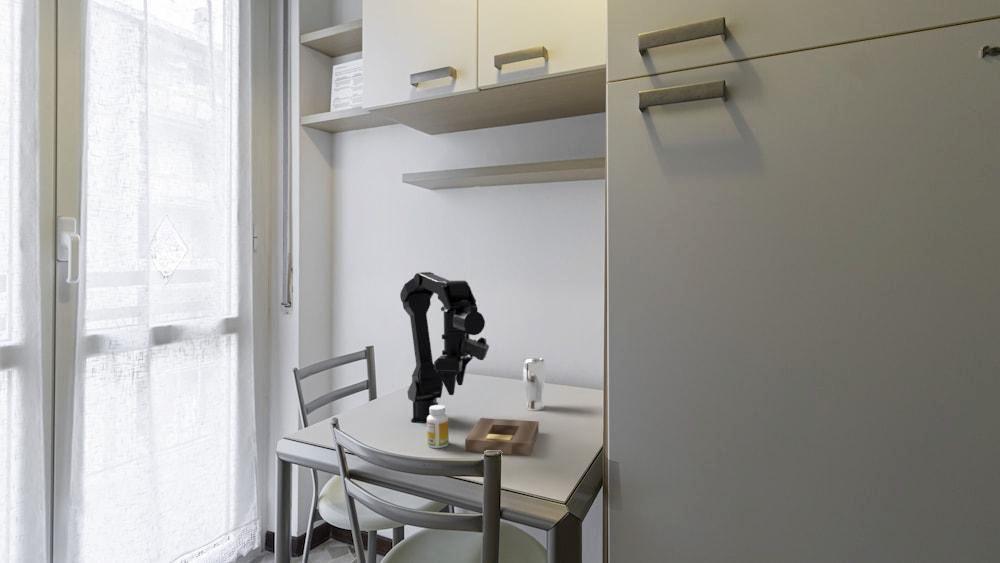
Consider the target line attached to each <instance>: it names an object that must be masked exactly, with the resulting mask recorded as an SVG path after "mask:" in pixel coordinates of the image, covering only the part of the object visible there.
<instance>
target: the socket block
mask: <svg viewBox="0 0 1000 563" xmlns="http://www.w3.org/2000/svg"><path fill="white" fill-rule="evenodd" d="M539 422H540V421H539V420H525V419H524V420H523V419H522V420H521V419H520V420H519V419H505V418H504V419H502V418H487V417H486V418H485V417H480V419H478V421H477V423H476V424H475V425H474V427H472V429H471V431H470V432H469V433H468V435H467V436H466V438H465V441H464V448H465V449H464V450H465V452H468V451H471V452H470V453H481V454H483V452H484V451H486V450H501V451H502V452H503V454H502V455H513V456H525V457H530V456H531V455H532V453H533V452H532V451H533V449H534V446H535V443H536V442H537V438H538V435H539V429H540V427H539V425H540V424H539Z"/></svg>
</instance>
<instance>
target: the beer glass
mask: <svg viewBox="0 0 1000 563" xmlns="http://www.w3.org/2000/svg"><path fill="white" fill-rule="evenodd" d="M522 362H523V365H522V380H523V381H522V382H523V387H524V392H525V393H524V394H525V403H524V409H525V410H527V411H530V412H531V411H532V412H533V411H535V412H537V411H542V410H544V408H545V406H544V400H543V399H544V397H543V396H544V395H543V393H544V389H545V382H546V365H545V364H546V363H545V359H543V358H537V357H530V358H524V359H523V361H522Z"/></svg>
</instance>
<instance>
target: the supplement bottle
mask: <svg viewBox="0 0 1000 563" xmlns="http://www.w3.org/2000/svg"><path fill="white" fill-rule="evenodd" d="M429 412H430V415H429V416H428V417H427V423H426V440H427V442H426V443H427V446H428V447H429V448H431V449H441V448H445V447H447V446H448V445H449V443H450V441H449V437H450V436H449V417H448V416H449V415H447V414H446V406H445V405H444V404H438V405H433V406H431V407H430V408H429Z"/></svg>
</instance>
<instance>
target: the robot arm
mask: <svg viewBox="0 0 1000 563" xmlns="http://www.w3.org/2000/svg"><path fill="white" fill-rule="evenodd" d="M434 294H436V295H437V299H438V301H439V302H441V304H442V306H441V307H440V311H442V312H443V334H441V340H443V350H441V354H442V355H440V356H439V357H438V358H437V359H435V361H434V362H433V355H432V346H431V339H430V332H429V325H428V324H429V322H428V316H427V313H428V311H429V309H430V306H431V299H432V297H433V295H434ZM399 296H400V300H401V302H402V307H403V308H402V309H403V310H404V311H405V312H406V313H407V315H408V316H409V320H410V326H411V333H412V341H413V342H412V343H413V349H414V350H413V351H414V358H415V359H414V360H415V368H414V370H413V373H412V375H411V383H410V386H409V387H408V390H407V398H408V400H409V401H412V418H411V419H410V422H412V423H426V424H427V417H428V416H429V415H430V412H429V408H430V407H431V406H433V405H439V402H437V401H438V400H437V399H441V398H442V393H443V389H444V388H443V387H445V389H446V391H447V394H448V395H449V396H454V394H455V390H456V389H455V388H456V383H457V385H458V386H462V385H463V382H464V378H465V375H466V370H467V366H468V363H470V362H471V361H472V359H473V358H476V360H479V361H484V359H485V358H486V357H487V354H488V350H490V349H489V348H490V346H489V345H490V344H488V343H487V339H486V338H485V337H482V336H480V338H478V340H476V339H472V338H470V335H471V336H477V335H479V334H481V333H482V331H483V330H484V328H485V325H486V320H485V318H484V316H483V314H482V313H480V312H479V311H478V305H477V303H476V302H477V300H476V298H475V296H474V294H473V292H472V289H471V287H470V285H469V283H468V282H467V281H466V280H449V279H446V278H444V277H443V276H439V275H437V274H435V273H434V272H432V271H427V272H426V271H425V272H423V271H422V272H420V271H419V272H416V273H415V274H414V276H413V278H411V279H410V280H408V282H406V283H404V285H403V287H402V289H401V290H400V295H399Z"/></svg>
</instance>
